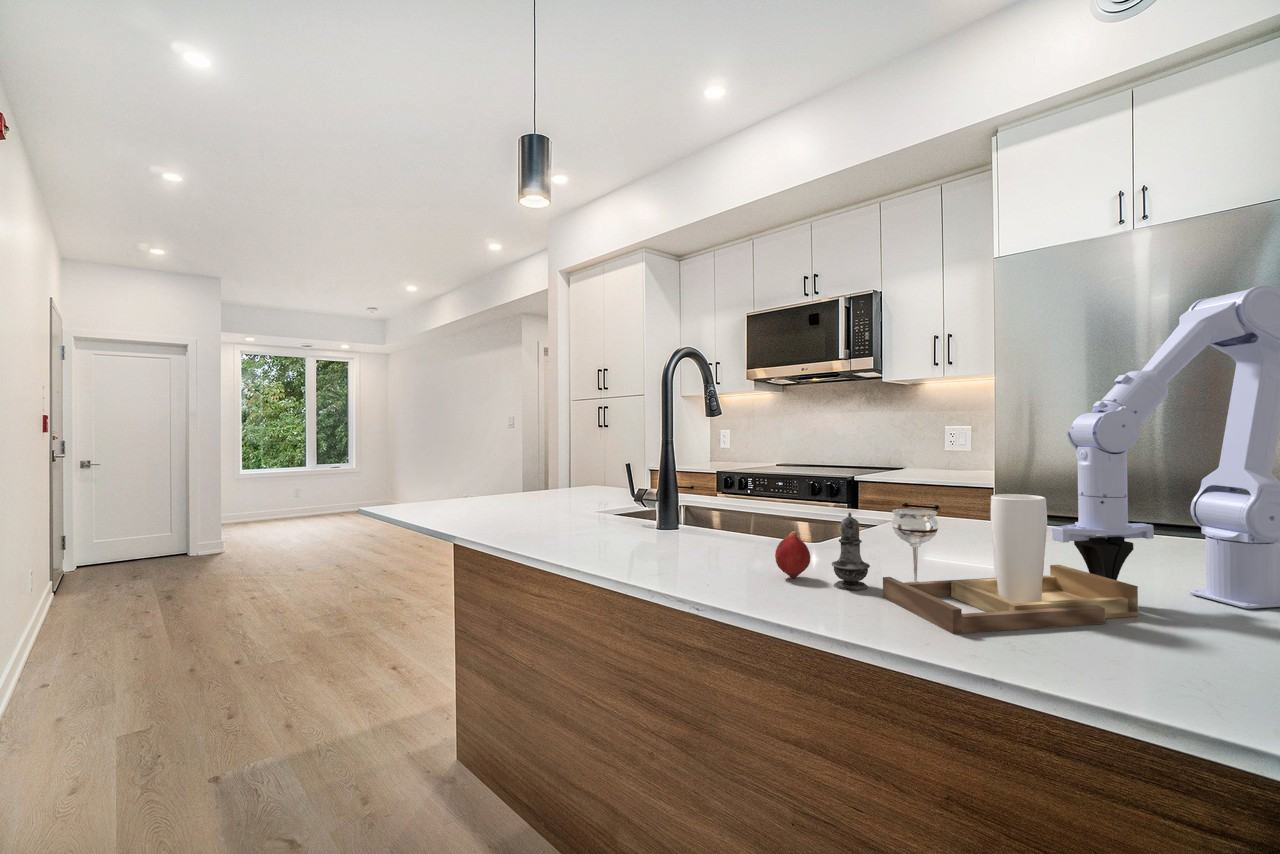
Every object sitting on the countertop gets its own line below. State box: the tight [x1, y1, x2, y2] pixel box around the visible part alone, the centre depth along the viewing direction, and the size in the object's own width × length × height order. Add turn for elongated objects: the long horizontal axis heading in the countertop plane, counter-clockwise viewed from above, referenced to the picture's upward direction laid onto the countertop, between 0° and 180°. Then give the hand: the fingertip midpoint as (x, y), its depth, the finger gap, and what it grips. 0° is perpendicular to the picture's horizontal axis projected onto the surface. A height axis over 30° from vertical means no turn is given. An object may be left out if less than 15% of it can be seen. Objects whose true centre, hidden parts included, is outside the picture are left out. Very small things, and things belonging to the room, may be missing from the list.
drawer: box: [950, 564, 1139, 619], centre depth 87 cm, size 18×13×4 cm
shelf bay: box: [882, 576, 1106, 634], centre depth 86 cm, size 21×17×3 cm
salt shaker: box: [831, 511, 871, 592], centre depth 100 cm, size 6×6×12 cm
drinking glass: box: [990, 493, 1048, 603], centre depth 87 cm, size 7×7×15 cm
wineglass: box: [891, 508, 939, 583], centre depth 99 cm, size 7×7×12 cm
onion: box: [774, 530, 811, 579], centre depth 106 cm, size 6×6×8 cm
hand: (1103, 589), depth 89 cm, fingers closed
